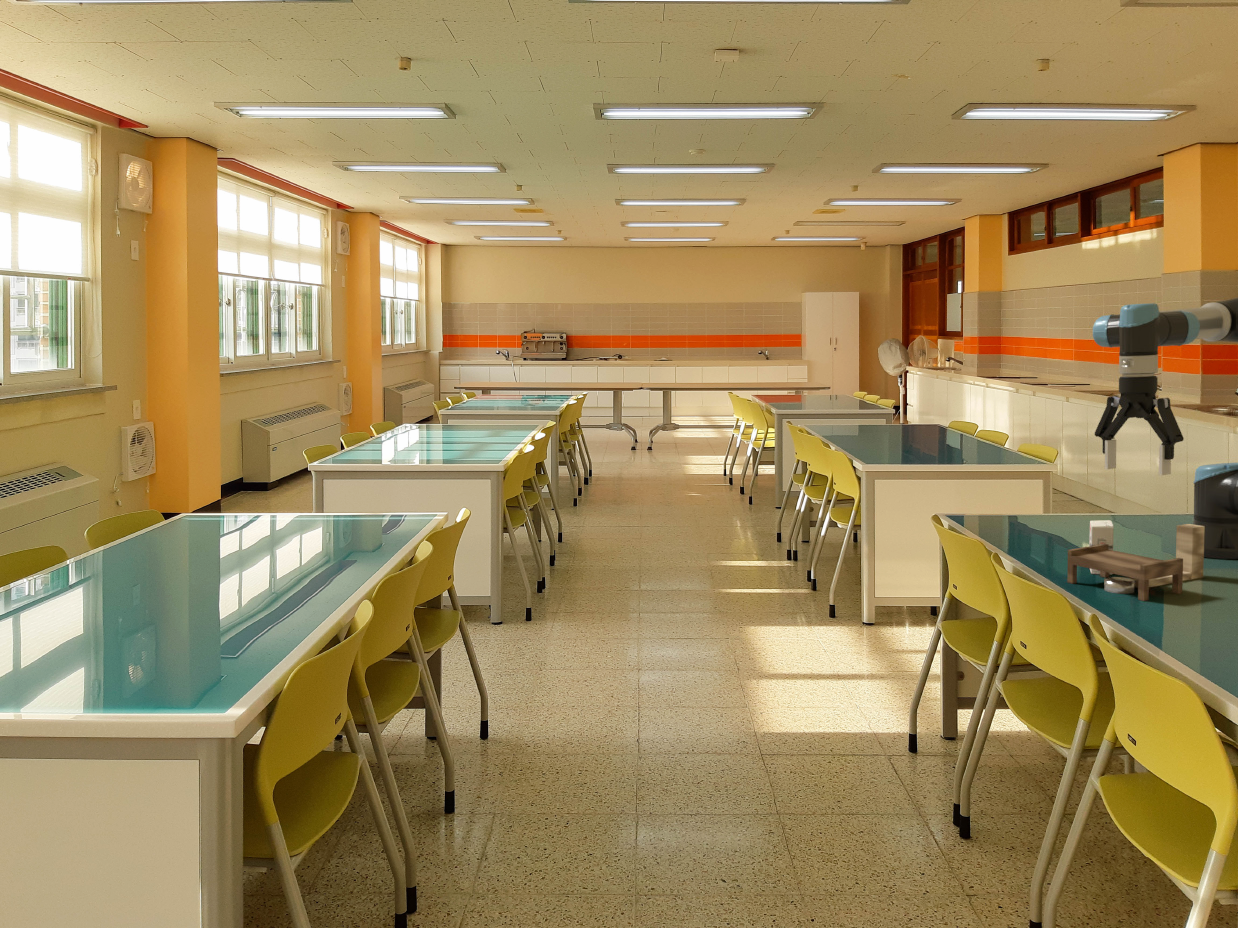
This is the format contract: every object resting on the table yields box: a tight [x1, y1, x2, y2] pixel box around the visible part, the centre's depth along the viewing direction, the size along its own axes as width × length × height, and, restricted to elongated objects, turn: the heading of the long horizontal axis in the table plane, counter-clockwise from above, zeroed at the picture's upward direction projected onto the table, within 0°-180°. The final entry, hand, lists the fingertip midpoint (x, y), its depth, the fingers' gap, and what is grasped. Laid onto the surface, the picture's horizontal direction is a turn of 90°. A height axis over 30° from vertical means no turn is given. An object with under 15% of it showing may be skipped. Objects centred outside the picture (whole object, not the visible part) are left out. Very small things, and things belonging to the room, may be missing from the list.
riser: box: [1067, 544, 1184, 602], centre depth 223 cm, size 12×20×8 cm, turn 24°
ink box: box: [1088, 519, 1114, 576], centre depth 239 cm, size 9×5×12 cm, turn 158°
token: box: [1103, 576, 1135, 595], centre depth 221 cm, size 6×6×2 cm
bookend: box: [1130, 523, 1205, 589], centre depth 227 cm, size 20×4×12 cm, turn 114°
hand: (1136, 471), depth 219 cm, fingers open, 13 cm apart
